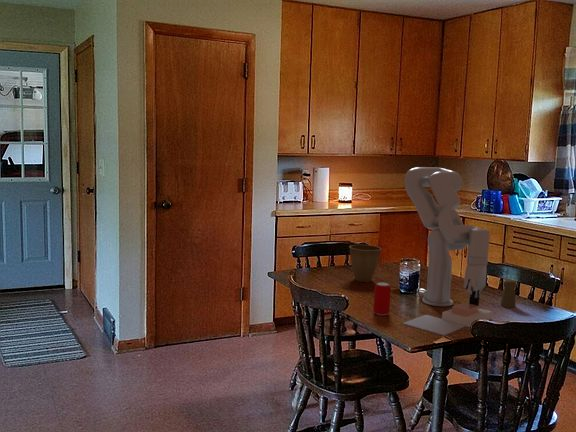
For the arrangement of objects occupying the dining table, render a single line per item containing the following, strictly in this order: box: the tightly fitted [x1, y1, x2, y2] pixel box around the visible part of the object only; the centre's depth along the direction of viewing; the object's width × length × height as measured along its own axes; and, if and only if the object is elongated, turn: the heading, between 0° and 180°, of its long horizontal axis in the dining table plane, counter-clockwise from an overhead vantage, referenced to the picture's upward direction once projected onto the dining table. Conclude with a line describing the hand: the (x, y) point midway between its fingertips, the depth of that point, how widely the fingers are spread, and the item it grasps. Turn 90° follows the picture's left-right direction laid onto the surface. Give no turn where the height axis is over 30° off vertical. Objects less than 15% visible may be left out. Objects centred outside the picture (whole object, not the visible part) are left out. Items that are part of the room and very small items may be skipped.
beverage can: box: [373, 282, 392, 317], centre depth 236 cm, size 6×6×12 cm
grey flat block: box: [441, 307, 492, 328], centre depth 234 cm, size 12×16×3 cm
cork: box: [499, 279, 517, 309], centre depth 253 cm, size 6×6×11 cm
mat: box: [402, 314, 466, 337], centre depth 225 cm, size 17×16×1 cm
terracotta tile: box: [451, 301, 479, 317], centre depth 232 cm, size 6×9×2 cm, turn 135°
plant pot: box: [349, 244, 382, 283], centre depth 288 cm, size 15×15×16 cm
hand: (473, 306), depth 236 cm, fingers closed
